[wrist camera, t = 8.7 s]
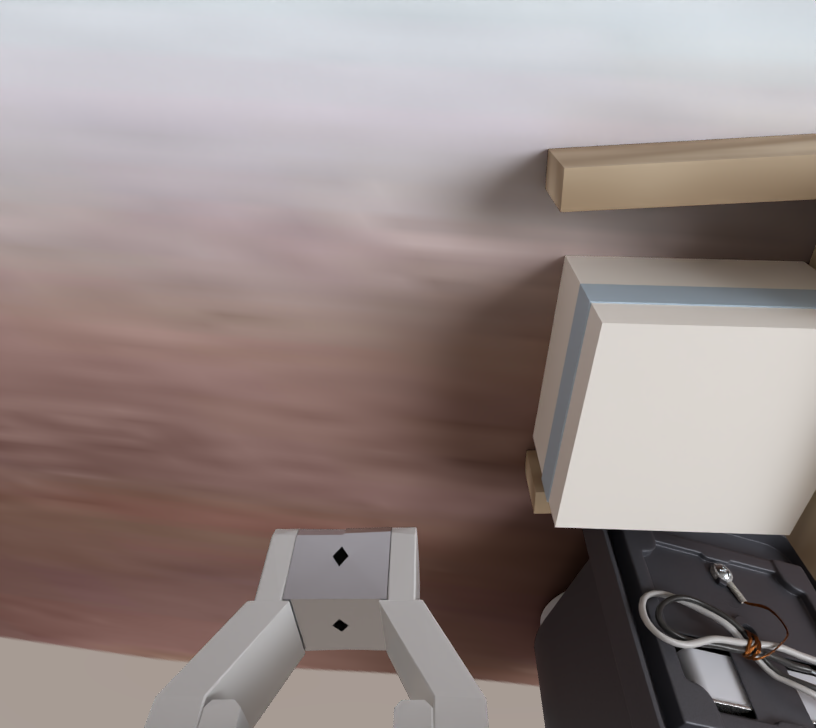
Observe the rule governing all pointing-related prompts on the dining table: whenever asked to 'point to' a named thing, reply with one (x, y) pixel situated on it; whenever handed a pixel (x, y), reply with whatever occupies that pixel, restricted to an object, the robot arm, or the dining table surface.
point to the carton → (680, 395)
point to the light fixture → (681, 634)
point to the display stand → (685, 186)
